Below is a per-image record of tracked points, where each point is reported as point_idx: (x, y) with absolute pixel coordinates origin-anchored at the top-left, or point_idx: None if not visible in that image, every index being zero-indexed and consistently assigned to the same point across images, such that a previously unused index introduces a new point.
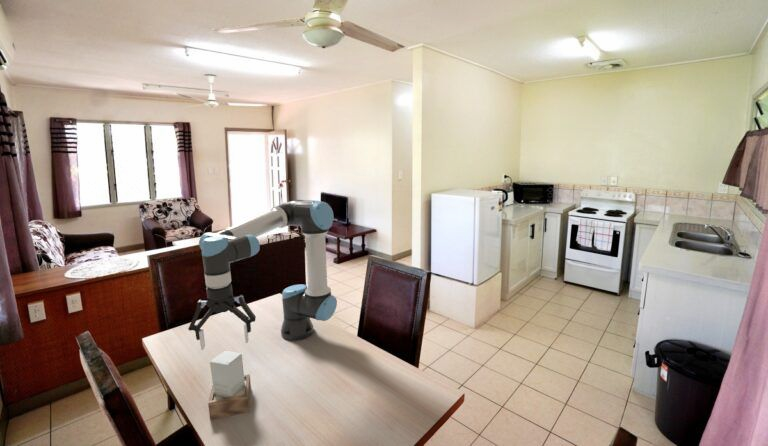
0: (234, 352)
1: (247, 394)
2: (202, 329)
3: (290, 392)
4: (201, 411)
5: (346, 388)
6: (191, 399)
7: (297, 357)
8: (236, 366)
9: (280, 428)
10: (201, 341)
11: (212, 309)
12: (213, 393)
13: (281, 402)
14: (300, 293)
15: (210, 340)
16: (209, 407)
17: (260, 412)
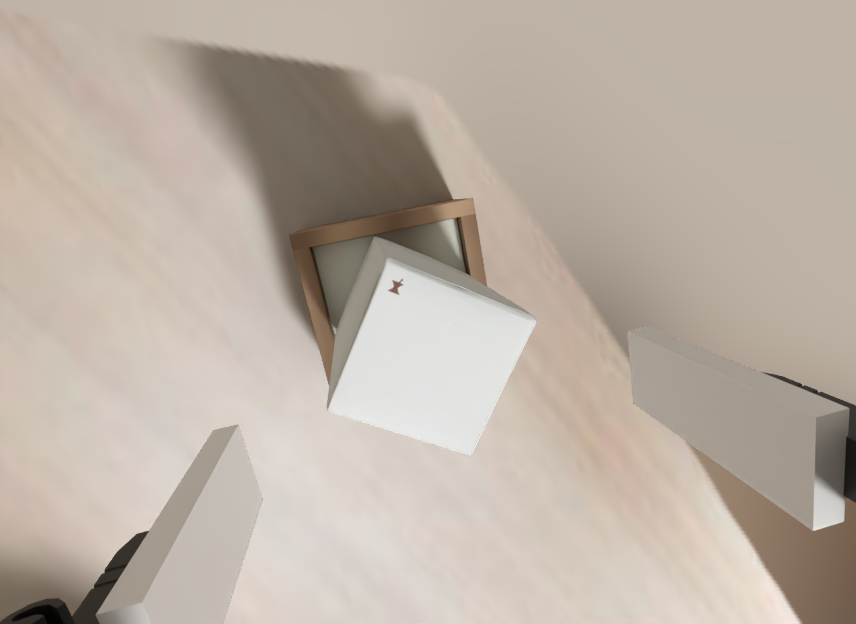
0: (390, 427)
1: (291, 242)
2: (805, 484)
3: (139, 343)
4: (504, 253)
5: None
6: (566, 329)
7: None
8: (350, 321)
9: (112, 99)
10: (702, 357)
11: None
12: (469, 268)
13: (164, 277)
14: None
15: None
16: (463, 199)
17: (246, 220)
